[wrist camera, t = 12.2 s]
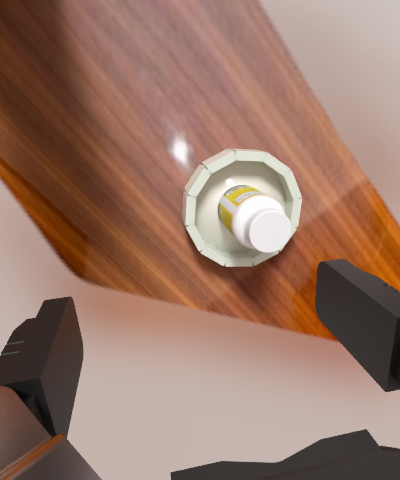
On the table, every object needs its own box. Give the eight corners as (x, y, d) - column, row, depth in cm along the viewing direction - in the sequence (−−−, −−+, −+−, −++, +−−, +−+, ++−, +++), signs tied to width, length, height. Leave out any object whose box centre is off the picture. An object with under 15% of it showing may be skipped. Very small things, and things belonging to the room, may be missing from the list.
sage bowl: (162, 183, 39) (164, 188, 36) (265, 128, 38) (275, 128, 36) (212, 275, 43) (217, 285, 40) (304, 225, 43) (316, 233, 40)
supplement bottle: (246, 237, 41) (277, 270, 32) (208, 216, 40) (229, 245, 30) (270, 197, 40) (310, 219, 31) (232, 175, 39) (261, 191, 29)
